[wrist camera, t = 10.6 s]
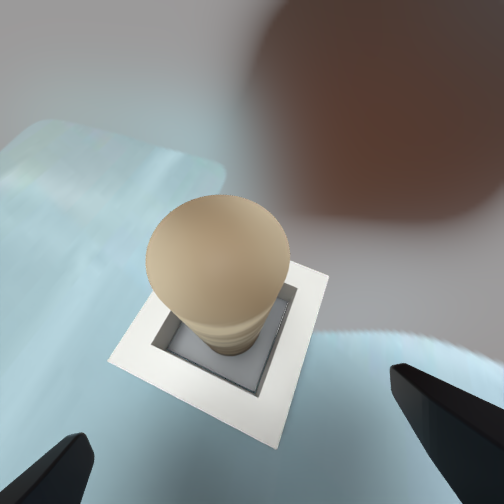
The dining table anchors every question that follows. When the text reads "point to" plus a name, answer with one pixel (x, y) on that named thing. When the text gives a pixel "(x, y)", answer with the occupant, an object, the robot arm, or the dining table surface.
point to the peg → (219, 268)
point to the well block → (229, 359)
